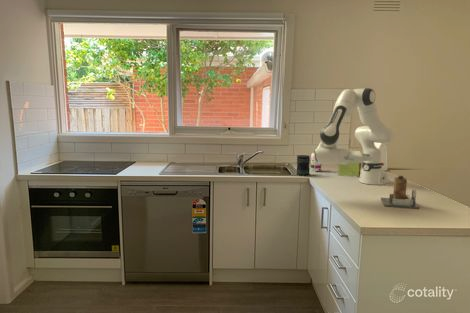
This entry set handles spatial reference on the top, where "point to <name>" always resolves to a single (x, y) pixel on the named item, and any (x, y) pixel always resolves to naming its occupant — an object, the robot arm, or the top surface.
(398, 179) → the walnut toggle block
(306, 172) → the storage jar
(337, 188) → the top surface
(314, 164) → the supplement can
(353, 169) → the protein box
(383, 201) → the keeper bracket
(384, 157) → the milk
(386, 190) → the top surface
